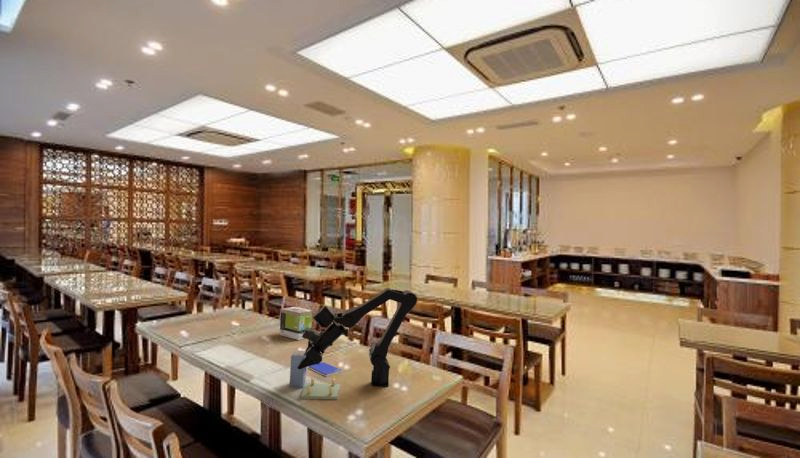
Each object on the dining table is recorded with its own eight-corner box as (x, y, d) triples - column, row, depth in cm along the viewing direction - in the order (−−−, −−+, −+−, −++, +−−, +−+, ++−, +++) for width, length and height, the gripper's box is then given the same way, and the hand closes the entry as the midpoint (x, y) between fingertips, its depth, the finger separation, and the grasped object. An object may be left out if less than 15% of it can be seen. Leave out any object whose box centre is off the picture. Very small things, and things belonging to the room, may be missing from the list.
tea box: (312, 336, 214) (313, 309, 214) (298, 340, 206) (299, 312, 205) (292, 331, 222) (294, 305, 222) (278, 335, 214) (280, 308, 213)
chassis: (340, 386, 151) (340, 377, 151) (337, 399, 140) (337, 389, 140) (306, 385, 150) (306, 376, 150) (300, 398, 140) (301, 388, 139)
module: (305, 382, 153) (306, 350, 153) (302, 387, 148) (304, 354, 148) (292, 382, 153) (294, 350, 153) (289, 387, 148) (291, 354, 148)
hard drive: (341, 369, 166) (323, 361, 174) (326, 374, 160) (308, 365, 168) (341, 373, 166) (323, 365, 174) (326, 378, 160) (308, 369, 168)
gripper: (316, 315, 161) (287, 341, 159) (314, 327, 142) (281, 357, 141) (335, 334, 162) (306, 361, 160) (335, 349, 144) (302, 379, 142)
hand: (299, 364), depth 151 cm, fingers open, 9 cm apart
